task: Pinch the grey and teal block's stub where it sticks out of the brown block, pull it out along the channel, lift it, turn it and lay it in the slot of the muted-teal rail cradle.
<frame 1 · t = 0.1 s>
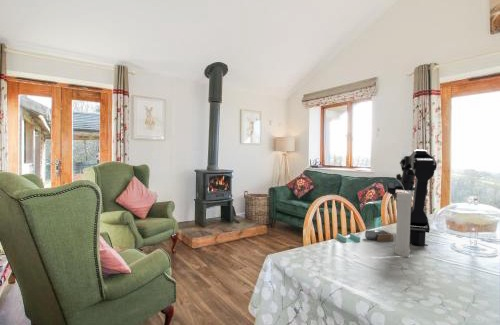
hand: (404, 200, 156), 15 cm above the table, tool tilted 35°, fingers open, 9 cm apart
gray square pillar: (401, 255, 113), on the table
brown block: (379, 240, 132), on the table
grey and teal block: (375, 239, 132), on the table, touching brown block
cradle: (348, 240, 130), on the table
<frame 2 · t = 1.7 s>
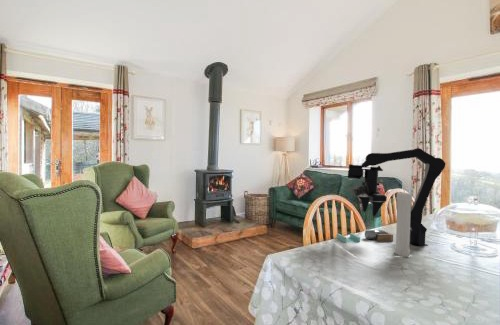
hand: (368, 213, 133), 12 cm above the table, tool pointing down, fingers open, 9 cm apart
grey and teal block: (375, 239, 132), point 1 cm above the table, tilted 11°, touching brown block
everything else where it was.
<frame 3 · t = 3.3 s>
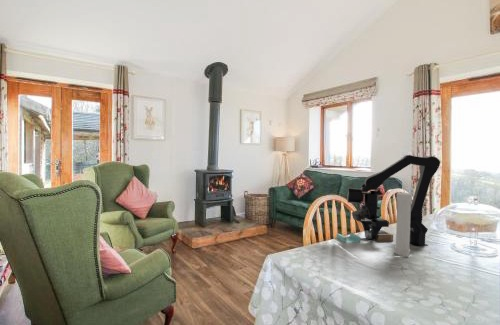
hand: (369, 237, 131), 1 cm above the table, tool pointing down, fingers open, 5 cm apart
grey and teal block: (375, 239, 132), point 1 cm above the table, tilted 9°, touching brown block, gripper
everything else where it was.
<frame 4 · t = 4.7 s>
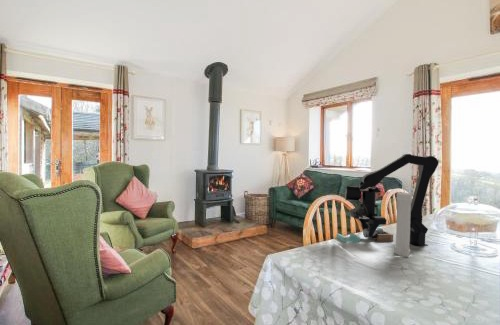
hand: (367, 235, 131), 2 cm above the table, tool pointing down, fingers closed on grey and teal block, 4 cm apart
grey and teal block: (373, 237, 132), point 1 cm above the table, touching gripper
everything else where it was.
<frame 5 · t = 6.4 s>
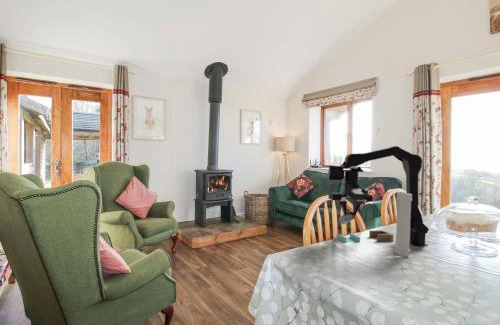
hand: (349, 215, 130), 11 cm above the table, tool pointing down, fingers closed on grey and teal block, 4 cm apart
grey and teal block: (347, 221, 132), point 8 cm above the table, tilted 29°, touching gripper
everything else where it was.
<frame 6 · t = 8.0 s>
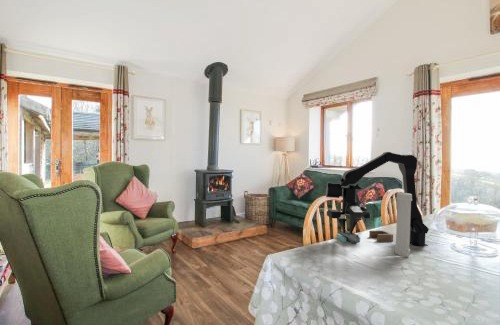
hand: (347, 232, 130), 4 cm above the table, tool pointing down, fingers closed on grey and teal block, 3 cm apart
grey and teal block: (349, 240, 128), point 1 cm above the table, tilted 5°, touching cradle, gripper
everything else where it was.
when the fingers open (4 cm above the table, at t = 8.1 s): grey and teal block stays where it is, resting on cradle.
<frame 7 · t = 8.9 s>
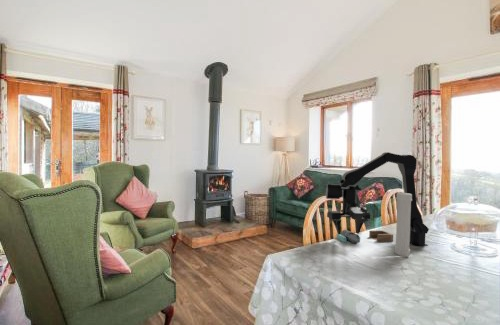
hand: (348, 233, 130), 3 cm above the table, tool pointing down, fingers open, 9 cm apart
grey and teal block: (349, 240, 128), point 1 cm above the table, tilted 13°, touching cradle
everything else where it was.
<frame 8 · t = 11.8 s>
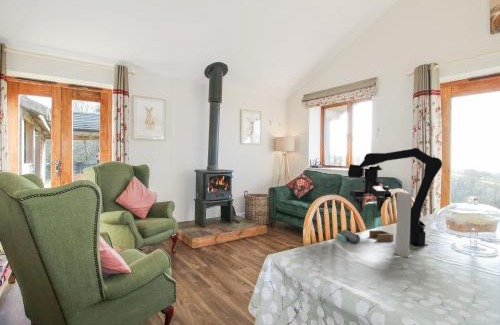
hand: (369, 211, 138), 12 cm above the table, tool pointing down, fingers open, 9 cm apart
nothing on the table moved.
at the end: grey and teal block inside the target area on the cradle (1.6 cm from its centre), point 0.5 cm above the cradle's base; the gripper is holding nothing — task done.
